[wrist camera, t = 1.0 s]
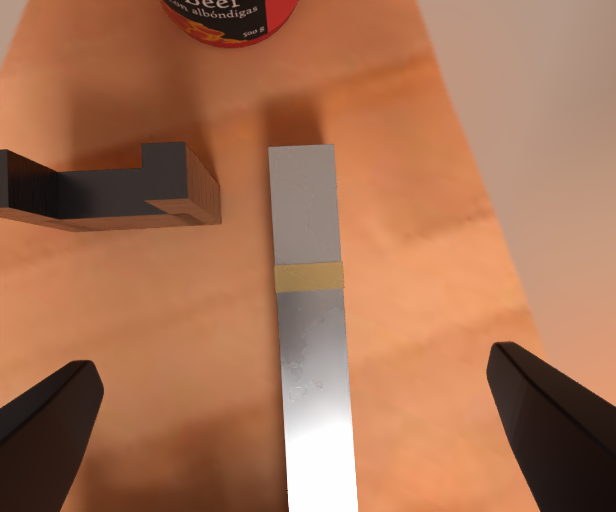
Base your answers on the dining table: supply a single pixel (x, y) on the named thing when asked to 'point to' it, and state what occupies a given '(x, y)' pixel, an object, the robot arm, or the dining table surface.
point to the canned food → (229, 19)
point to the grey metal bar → (312, 329)
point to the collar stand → (112, 193)
